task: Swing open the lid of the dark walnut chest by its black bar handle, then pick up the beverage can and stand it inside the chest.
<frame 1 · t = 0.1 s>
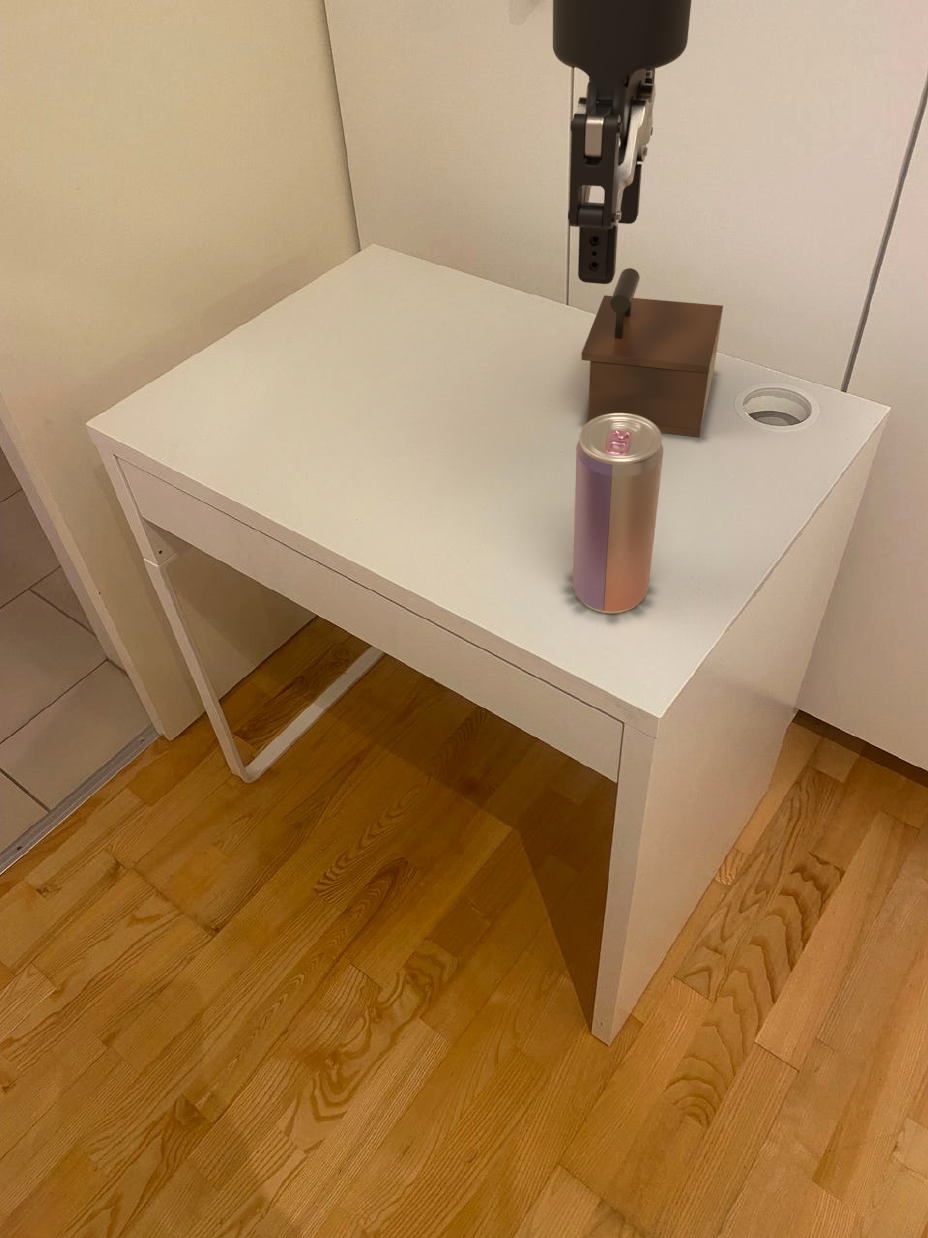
hand: (609, 249, 63), 25 cm above the table, tool pointing down, fingers open, 8 cm apart
lid: (655, 310, 87), point 9 cm above the table, hinge at 0.0°
beverage can: (609, 592, 76), on the table
chest: (651, 399, 94), on the table
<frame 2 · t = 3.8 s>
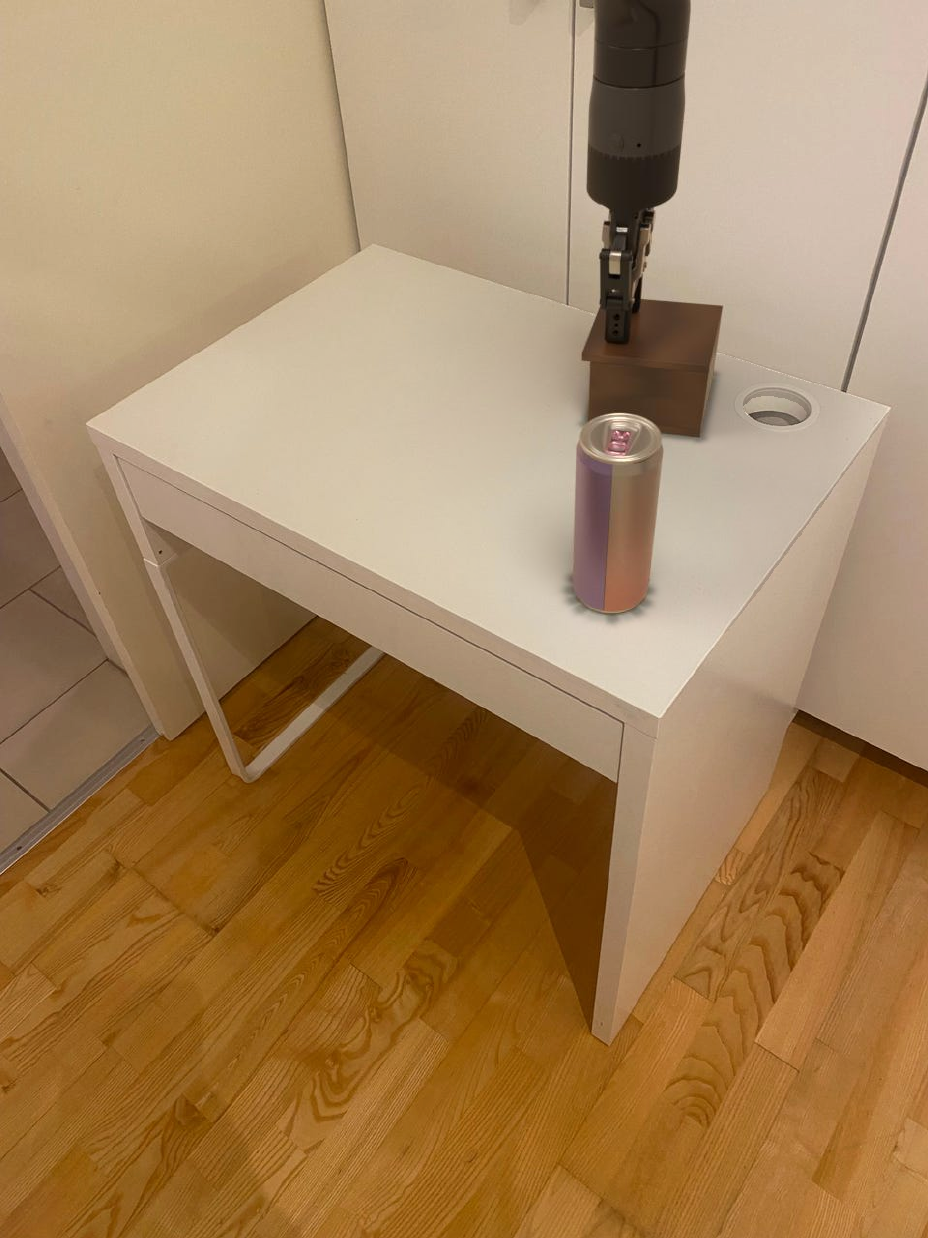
hand: (622, 324, 89), 8 cm above the table, tool pointing down, fingers closed on lid, 5 cm apart
lid: (655, 310, 87), point 9 cm above the table, hinge at -0.3°, touching gripper
everything else where it was.
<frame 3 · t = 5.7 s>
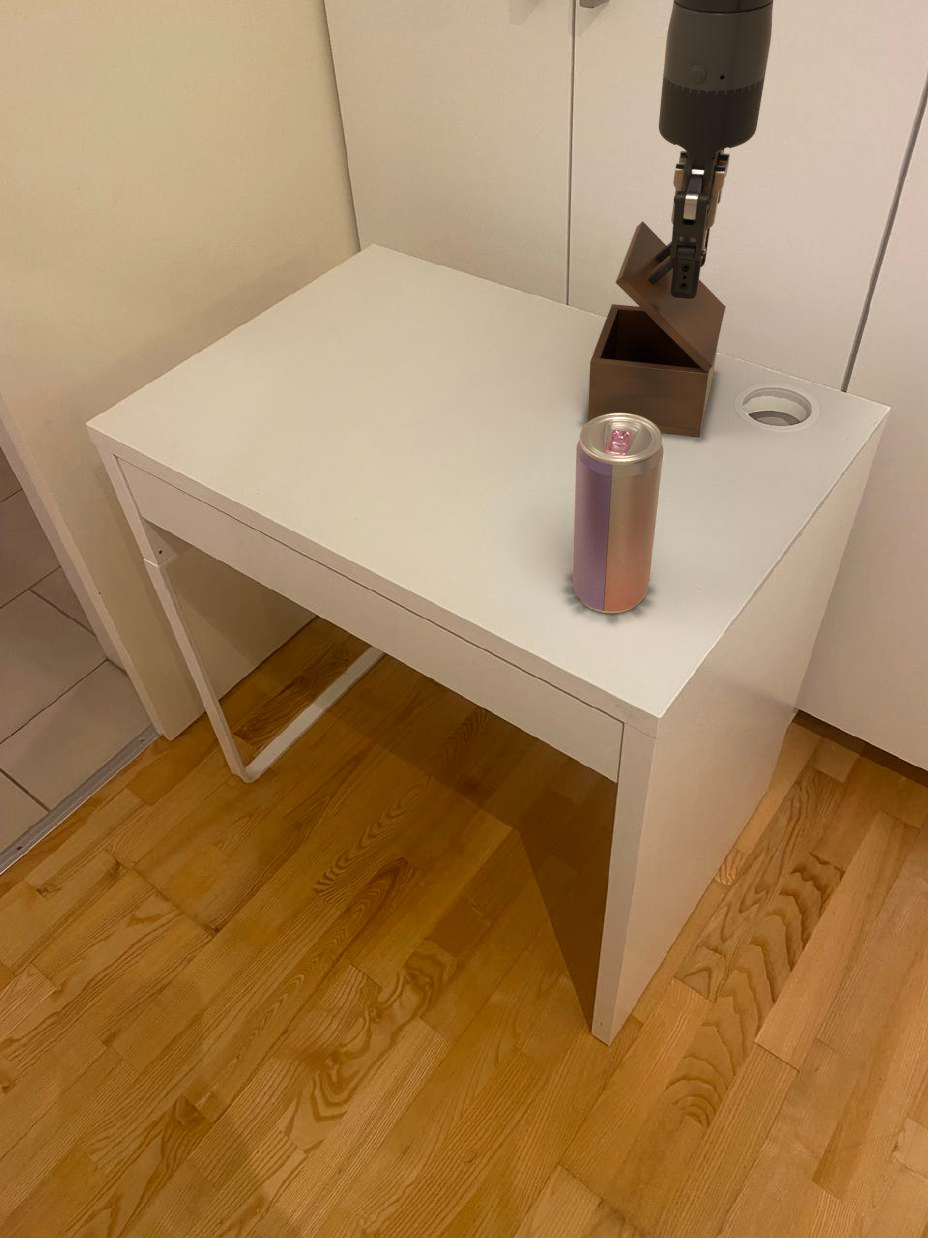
hand: (687, 279, 84), 13 cm above the table, tool pointing down, fingers closed on lid, 5 cm apart
lid: (692, 279, 84), point 13 cm above the table, hinge at 42.3°, touching gripper
everything else where it was.
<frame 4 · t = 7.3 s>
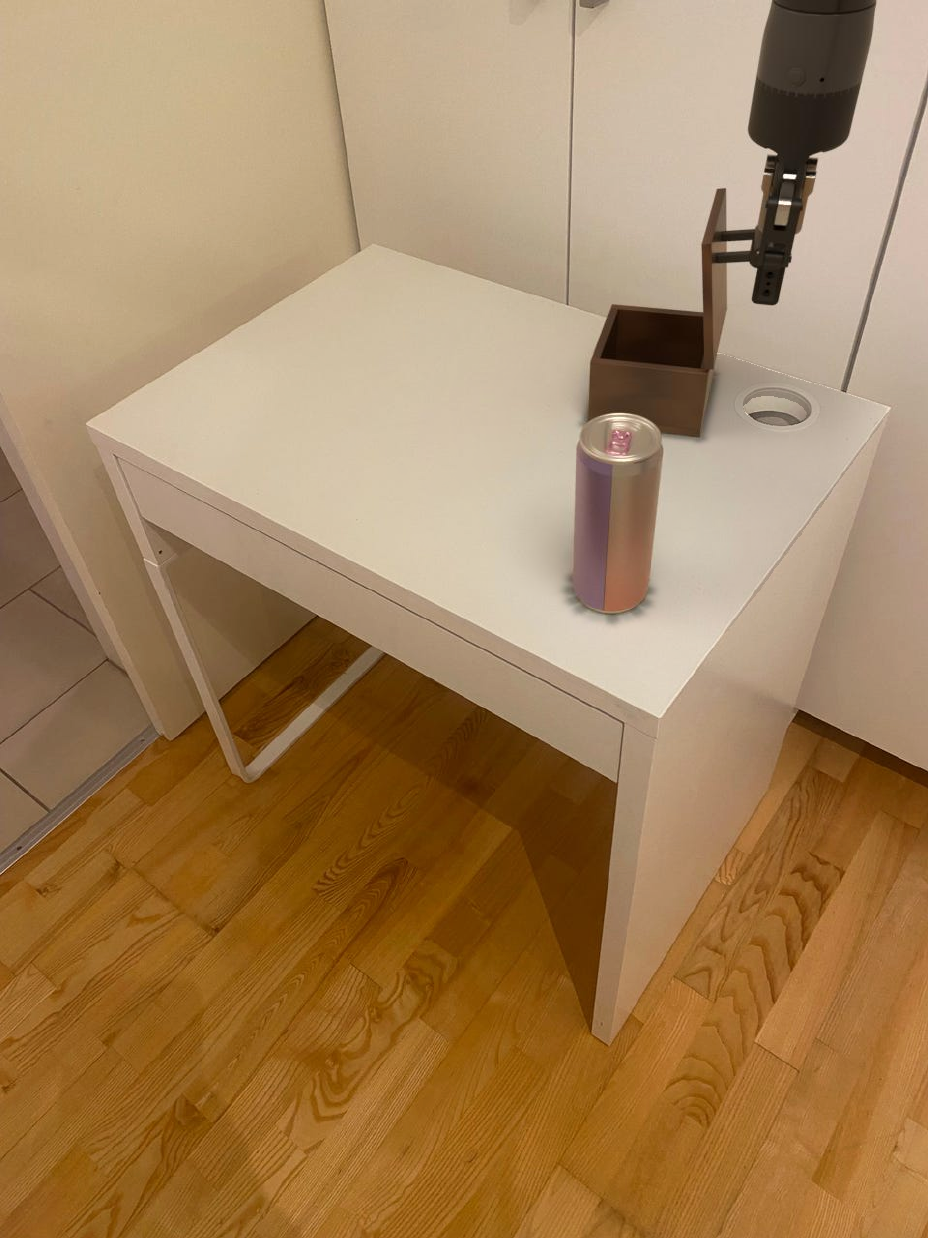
hand: (767, 285, 83), 13 cm above the table, tool pointing down, fingers closed on lid, 5 cm apart
lid: (741, 278, 83), point 13 cm above the table, hinge at 82.0°, touching gripper
everything else where it was.
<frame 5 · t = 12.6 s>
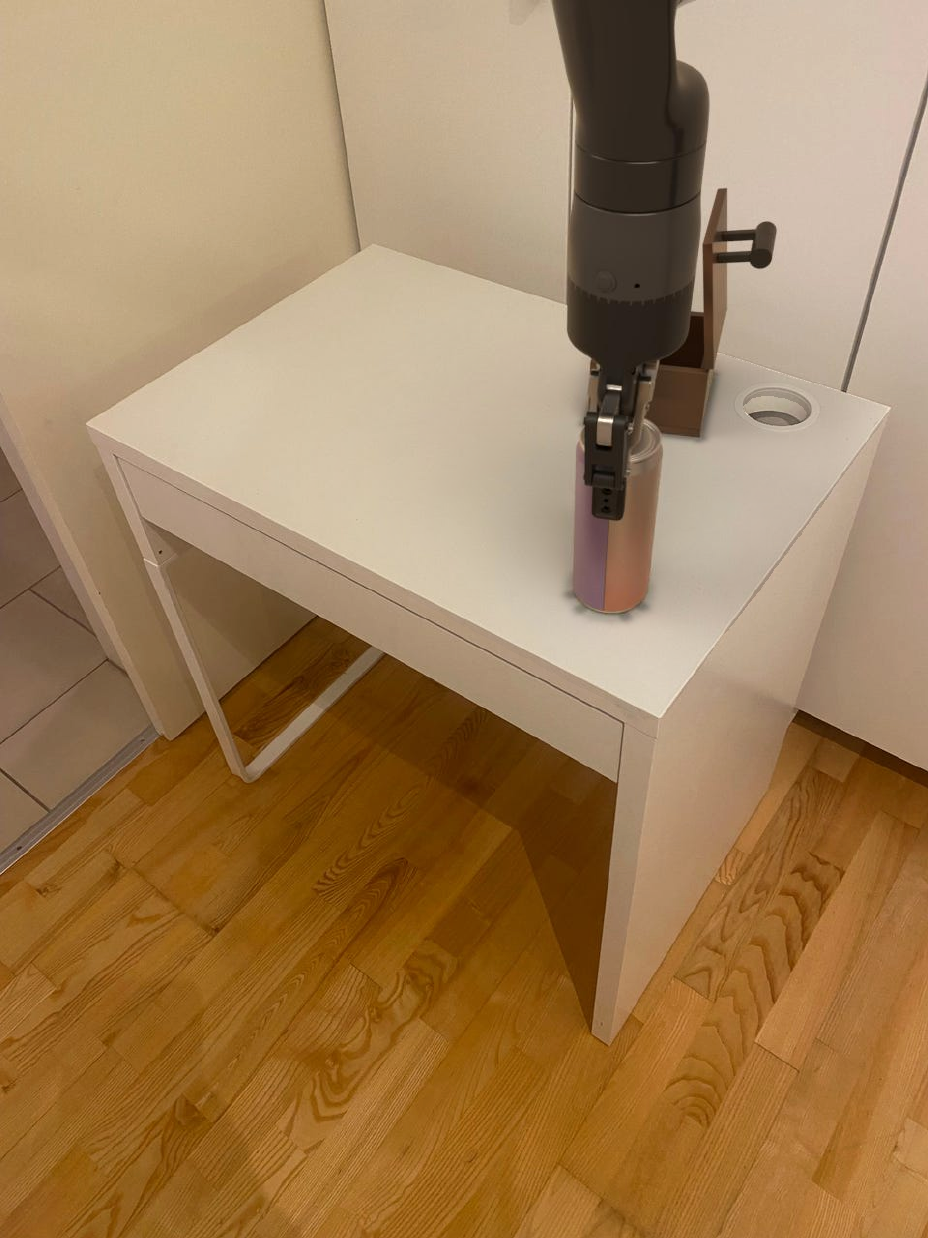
hand: (616, 486, 69), 11 cm above the table, tool pointing down, fingers closed on beverage can, 6 cm apart
lid: (741, 278, 83), point 13 cm above the table, hinge at 82.4°
beverage can: (609, 592, 76), on the table, touching gripper
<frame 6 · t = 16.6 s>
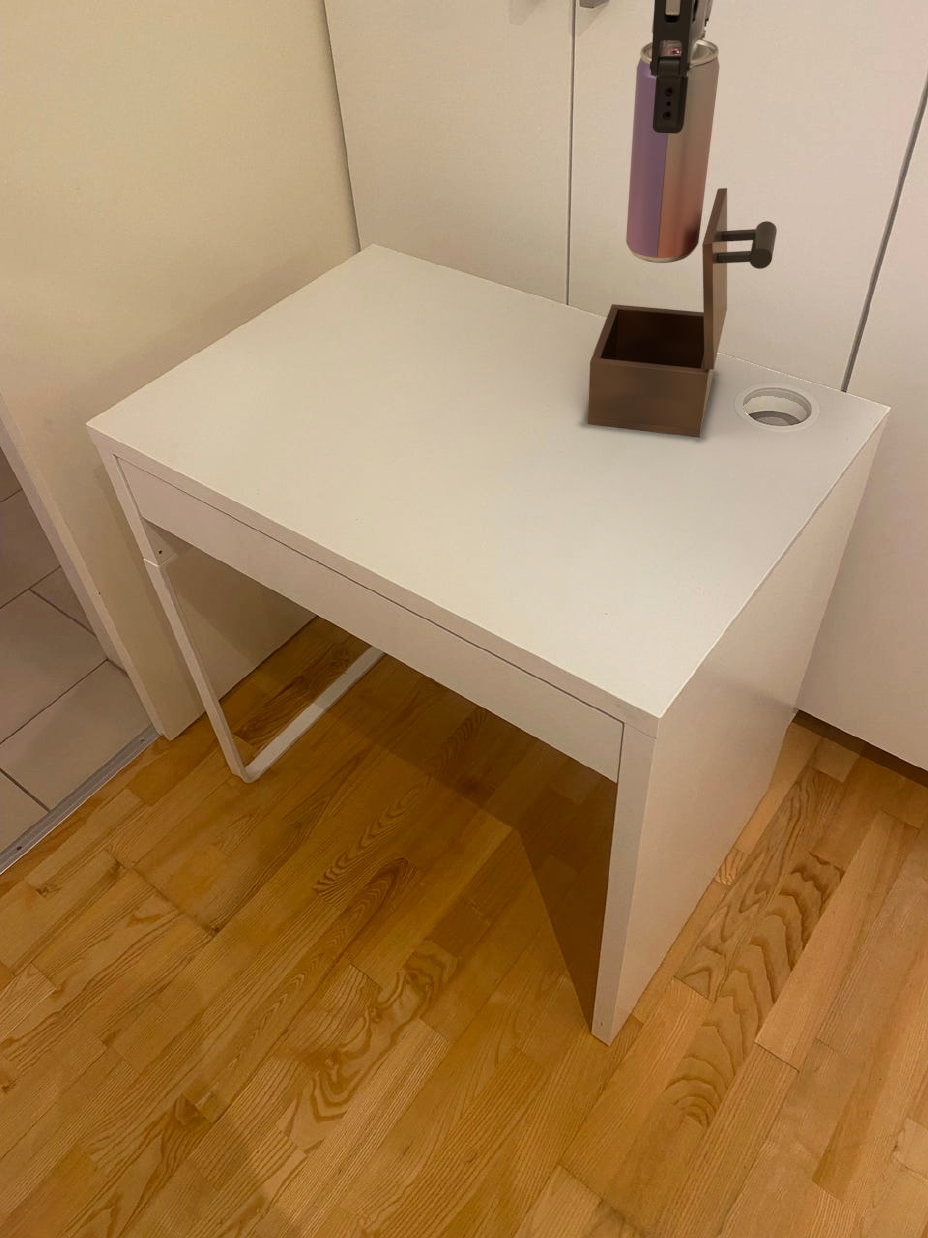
hand: (674, 113, 73), 27 cm above the table, tool pointing down, fingers closed on beverage can, 6 cm apart
beverage can: (661, 250, 80), point 16 cm above the table, touching gripper
everything else where it was.
when the fingers open (11 cm above the table, at t = 20.7 s): beverage can stays where it is, resting on chest.
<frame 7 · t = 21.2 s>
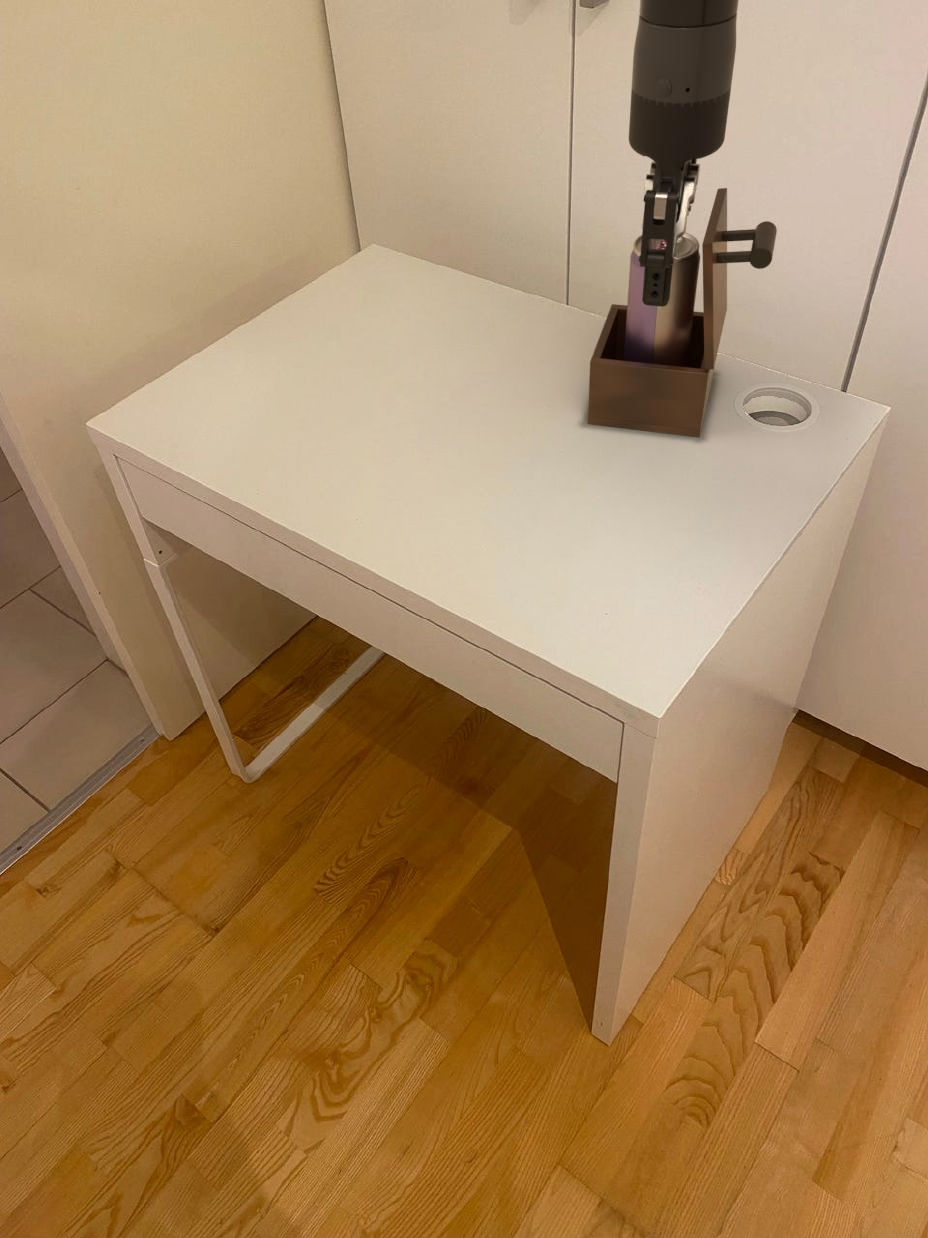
hand: (663, 280, 85), 12 cm above the table, tool pointing down, fingers open, 8 cm apart
beverage can: (652, 394, 93), point 1 cm above the table, touching chest
everything else where it was.
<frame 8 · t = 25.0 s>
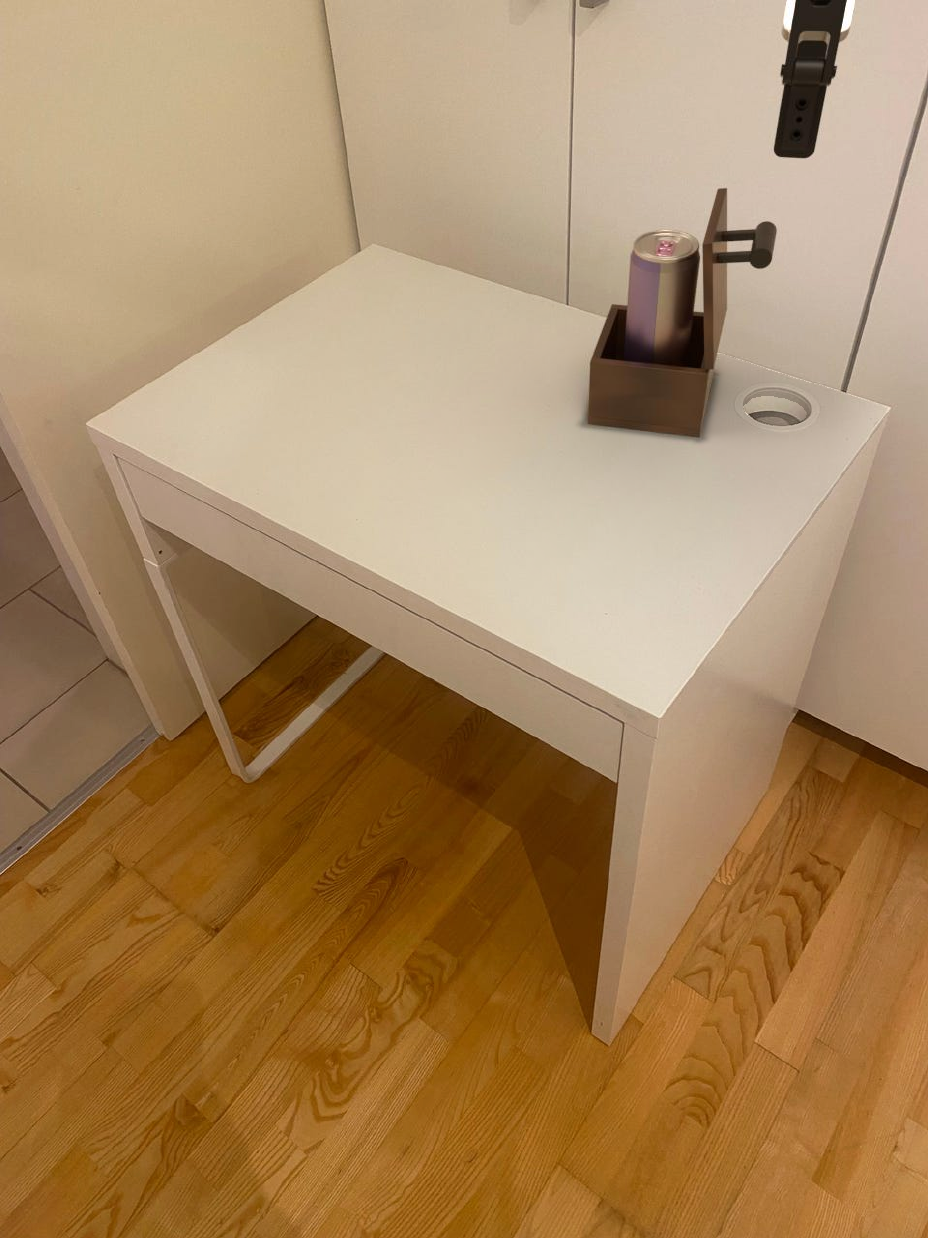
hand: (797, 126, 57), 32 cm above the table, tool pointing down, fingers open, 8 cm apart
nothing on the table moved.
at the end: lid at +82° (first picture: +0°); beverage can 0.1 cm off-centre in the chest, point 0.6 cm above the chest's base; beverage can tilted 0° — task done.
